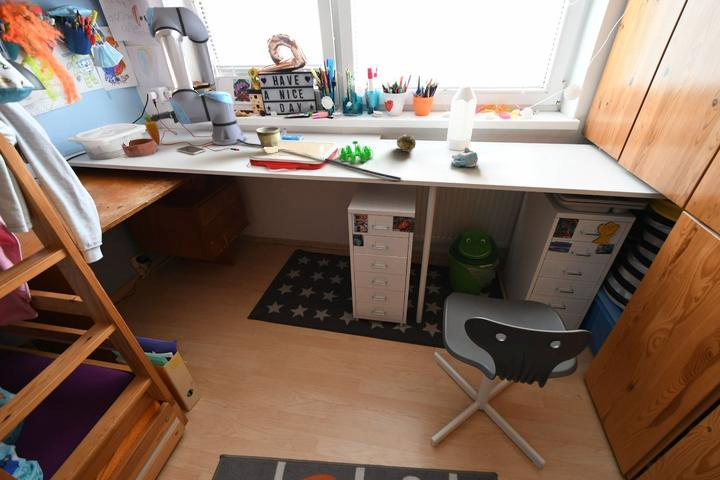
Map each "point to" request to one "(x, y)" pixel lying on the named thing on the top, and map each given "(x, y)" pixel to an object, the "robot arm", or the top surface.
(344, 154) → the chandelier
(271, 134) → the ceramic cup
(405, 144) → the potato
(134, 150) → the bowl
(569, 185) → the top surface
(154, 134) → the carrot
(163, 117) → the robot arm
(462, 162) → the stuffed animal
